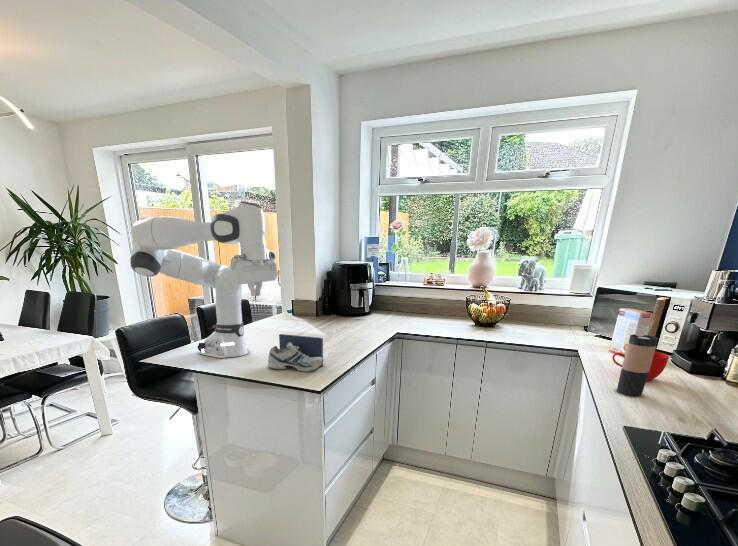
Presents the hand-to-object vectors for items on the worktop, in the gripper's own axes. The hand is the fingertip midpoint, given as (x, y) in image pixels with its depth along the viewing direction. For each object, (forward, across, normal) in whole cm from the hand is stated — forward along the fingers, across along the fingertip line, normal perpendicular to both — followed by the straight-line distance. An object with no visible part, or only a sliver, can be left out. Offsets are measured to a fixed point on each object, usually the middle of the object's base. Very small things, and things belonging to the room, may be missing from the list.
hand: (255, 295), depth 139 cm
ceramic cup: (+31, +78, -121) cm, 148 cm away
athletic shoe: (+31, +18, -3) cm, 36 cm away
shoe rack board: (+31, +25, -1) cm, 40 cm away
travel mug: (+31, +56, -118) cm, 134 cm away
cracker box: (+31, +117, -120) cm, 171 cm away
